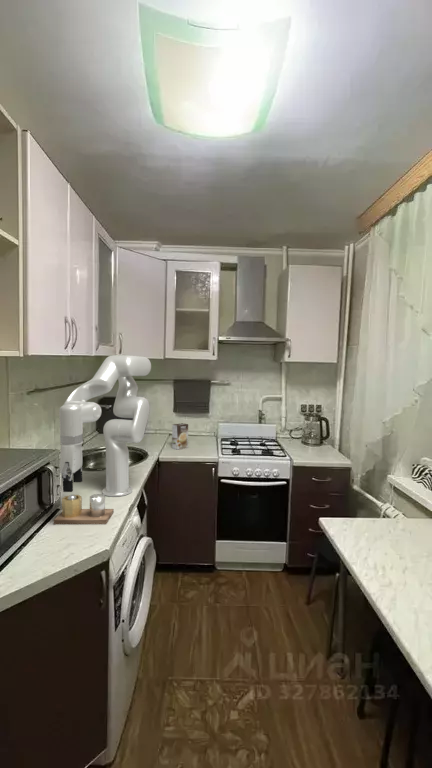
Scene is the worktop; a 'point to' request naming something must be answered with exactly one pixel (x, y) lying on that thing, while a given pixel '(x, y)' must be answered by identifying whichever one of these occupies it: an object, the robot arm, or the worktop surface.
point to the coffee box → (179, 436)
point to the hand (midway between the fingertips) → (73, 486)
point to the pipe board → (85, 518)
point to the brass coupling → (71, 507)
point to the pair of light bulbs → (95, 504)
